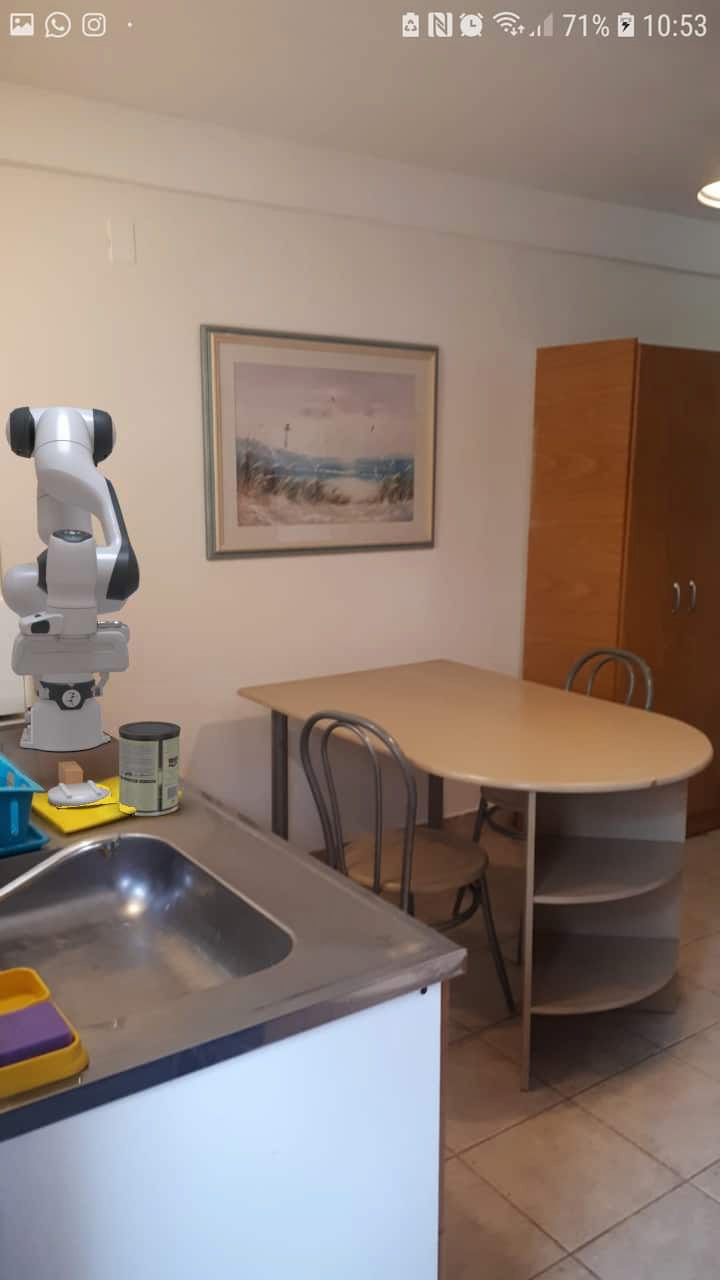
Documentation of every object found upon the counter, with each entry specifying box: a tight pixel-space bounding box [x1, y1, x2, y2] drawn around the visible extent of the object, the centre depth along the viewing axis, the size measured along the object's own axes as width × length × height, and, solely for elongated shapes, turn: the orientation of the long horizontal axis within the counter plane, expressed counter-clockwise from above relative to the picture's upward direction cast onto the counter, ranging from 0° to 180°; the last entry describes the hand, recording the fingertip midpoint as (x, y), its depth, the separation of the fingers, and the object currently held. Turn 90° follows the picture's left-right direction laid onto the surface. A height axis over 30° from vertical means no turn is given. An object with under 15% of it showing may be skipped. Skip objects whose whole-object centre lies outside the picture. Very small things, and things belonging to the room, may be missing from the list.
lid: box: [47, 760, 112, 807], centre depth 168 cm, size 17×11×4 cm, turn 27°
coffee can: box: [118, 721, 181, 817], centre depth 162 cm, size 10×10×14 cm
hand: (71, 697), depth 171 cm, fingers open, 8 cm apart
